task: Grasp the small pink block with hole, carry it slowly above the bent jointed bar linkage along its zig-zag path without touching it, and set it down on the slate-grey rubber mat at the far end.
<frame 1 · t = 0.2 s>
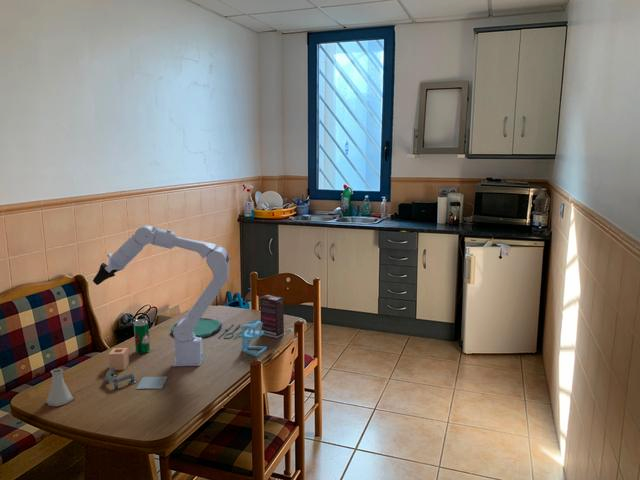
hand: (99, 279, 175), 31 cm above the table, tool tilted 45°, fingers open, 7 cm apart
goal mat: (152, 383, 167), on the table
bent jointed bar linkage: (120, 382, 167), on the table
soda can: (142, 352, 192), on the table
cutlery set: (208, 332, 212), on the table
flask: (60, 401, 155), on the table
supplement box: (272, 335, 208), on the table
pink block with hole: (119, 367, 179), on the table
chair: (252, 351, 192), on the table
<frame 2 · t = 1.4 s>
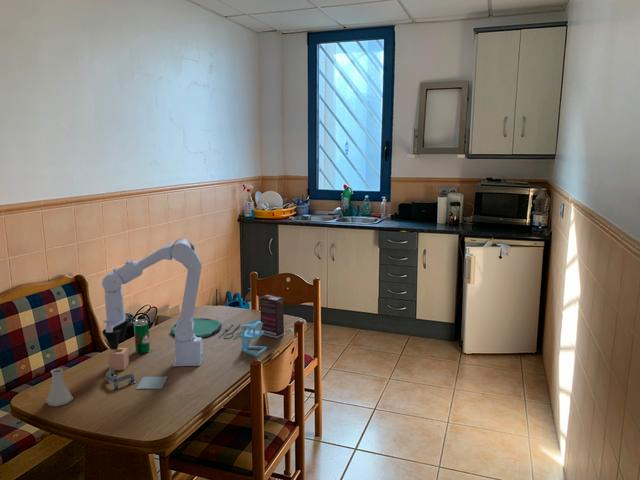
hand: (117, 344, 177), 8 cm above the table, tool pointing down, fingers open, 7 cm apart
nothing on the table moved.
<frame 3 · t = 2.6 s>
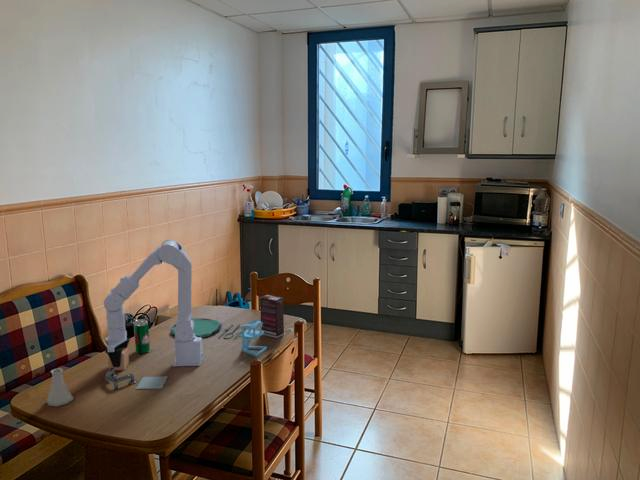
hand: (119, 363, 178), 1 cm above the table, tool pointing down, fingers closed on pink block with hole, 5 cm apart
pink block with hole: (119, 367, 179), on the table, touching gripper
everything else where it was.
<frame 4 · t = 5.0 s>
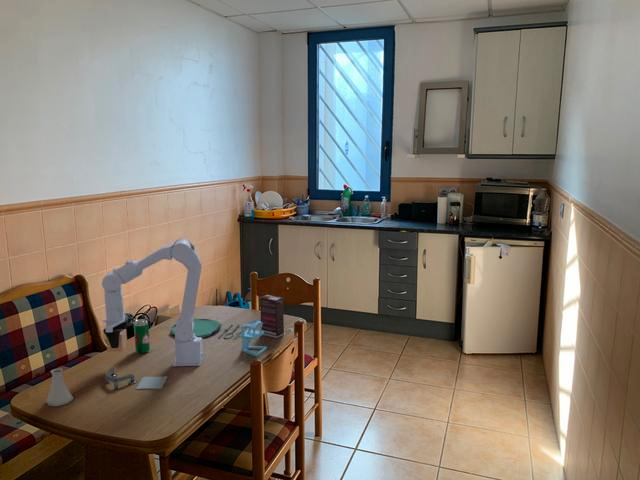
hand: (117, 344, 177), 8 cm above the table, tool pointing down, fingers closed on pink block with hole, 5 cm apart
pink block with hole: (117, 348, 177), point 7 cm above the table, touching gripper
everything else where it was.
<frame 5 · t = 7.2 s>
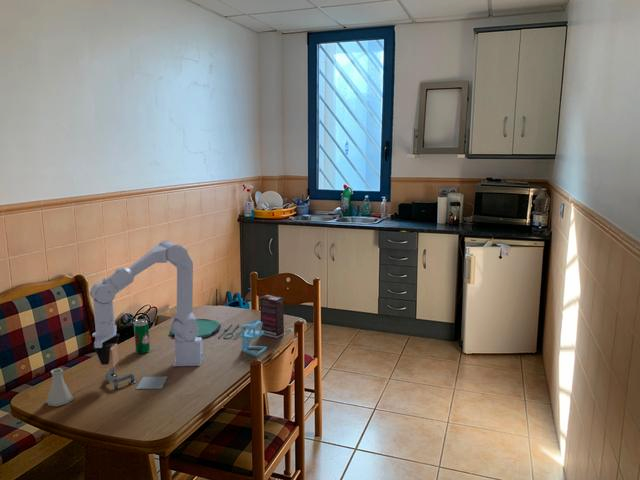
hand: (108, 360, 164), 8 cm above the table, tool pointing down, fingers closed on pink block with hole, 5 cm apart
pink block with hole: (108, 364, 164), point 7 cm above the table, touching gripper
everything else where it was.
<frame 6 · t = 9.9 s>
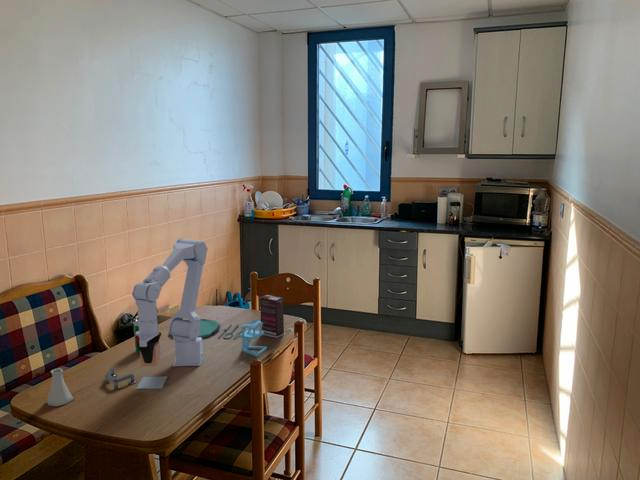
hand: (150, 359, 165), 8 cm above the table, tool pointing down, fingers closed on pink block with hole, 5 cm apart
pink block with hole: (150, 363, 165), point 7 cm above the table, touching gripper
everything else where it was.
when the fingers open (3 cm above the table, at t = 11.9 s): pink block with hole drops 1 cm, resting on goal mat.
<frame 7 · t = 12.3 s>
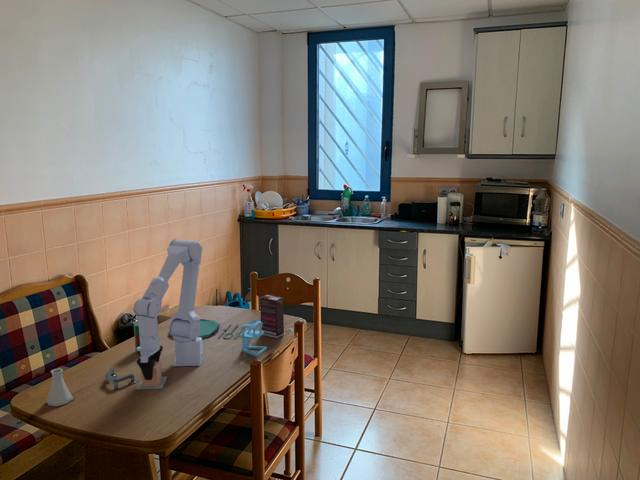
hand: (151, 374, 166), 3 cm above the table, tool pointing down, fingers open, 7 cm apart
pink block with hole: (152, 382, 167), resting on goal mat
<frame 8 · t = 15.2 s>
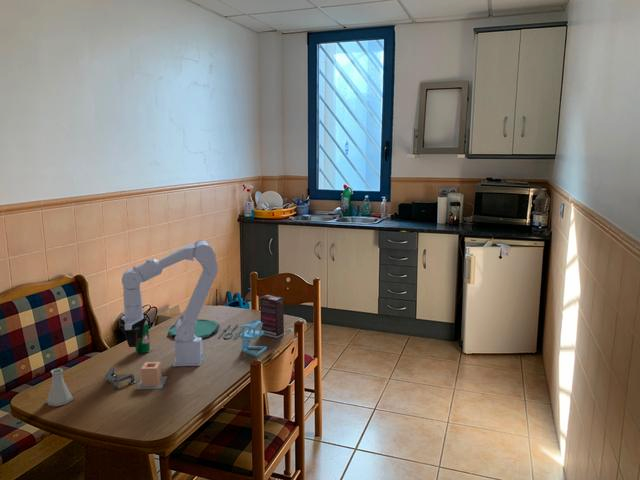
hand: (135, 342, 176), 9 cm above the table, tool pointing down, fingers open, 7 cm apart
at the end: pink block with hole 0.0 cm off-centre on the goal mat, point 0.3 cm above the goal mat's base; pink block with hole tilted 0°; pink block with hole touching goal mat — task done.
